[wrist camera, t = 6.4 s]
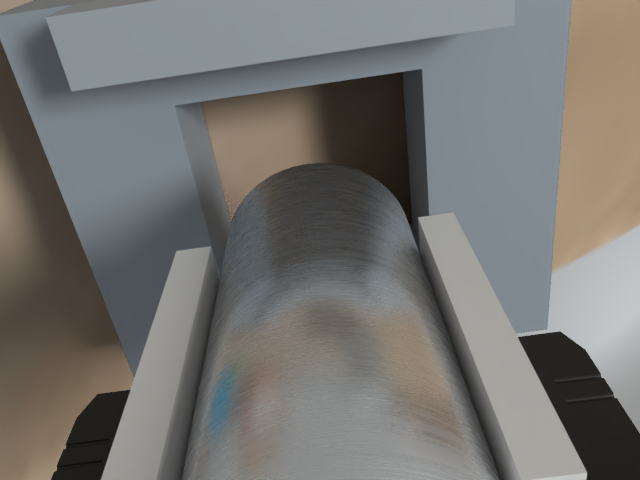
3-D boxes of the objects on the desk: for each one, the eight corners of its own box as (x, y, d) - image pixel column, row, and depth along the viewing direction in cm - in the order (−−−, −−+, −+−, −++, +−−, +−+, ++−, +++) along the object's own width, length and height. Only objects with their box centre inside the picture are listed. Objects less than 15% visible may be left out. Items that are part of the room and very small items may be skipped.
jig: (157, 320, 23) (124, 424, 19) (44, -4, 17) (-46, 31, 13) (513, 272, 23) (569, 365, 18) (525, -79, 17) (613, -70, 12)
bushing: (247, 330, 16) (179, 990, 6) (209, 177, 14) (9, 846, 4) (414, 308, 16) (606, 949, 6) (404, 150, 13) (683, 774, 4)
